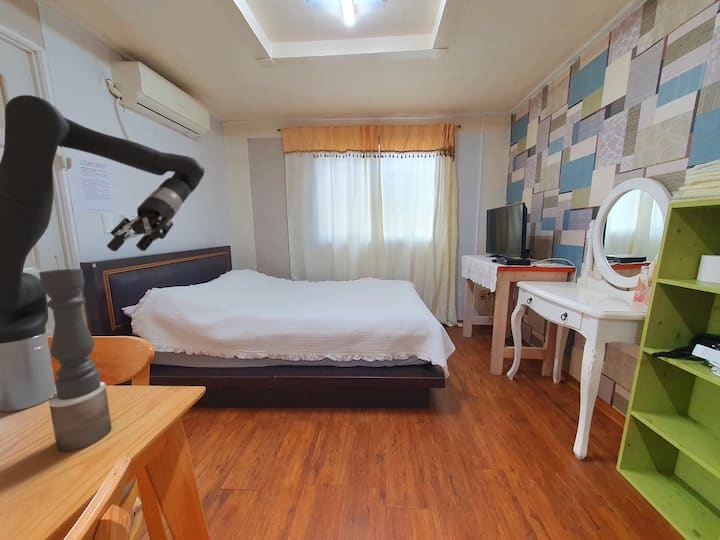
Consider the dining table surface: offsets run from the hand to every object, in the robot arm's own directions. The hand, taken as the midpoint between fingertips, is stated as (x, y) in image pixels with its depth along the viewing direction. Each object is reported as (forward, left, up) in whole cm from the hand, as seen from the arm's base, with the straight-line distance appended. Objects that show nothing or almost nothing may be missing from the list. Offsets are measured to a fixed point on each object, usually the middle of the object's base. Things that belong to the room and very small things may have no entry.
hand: (125, 248), depth 67 cm
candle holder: (+12, -9, -29) cm, 32 cm away
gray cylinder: (+12, -10, -39) cm, 42 cm away
